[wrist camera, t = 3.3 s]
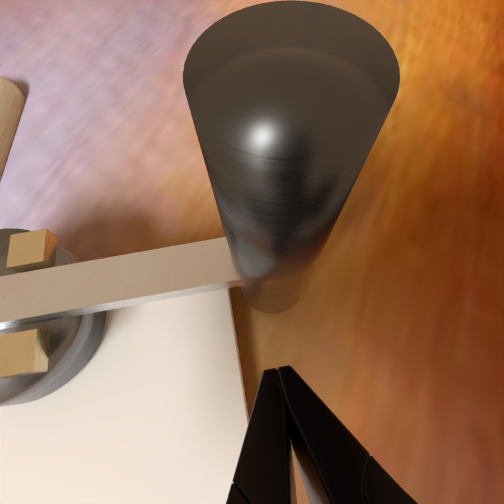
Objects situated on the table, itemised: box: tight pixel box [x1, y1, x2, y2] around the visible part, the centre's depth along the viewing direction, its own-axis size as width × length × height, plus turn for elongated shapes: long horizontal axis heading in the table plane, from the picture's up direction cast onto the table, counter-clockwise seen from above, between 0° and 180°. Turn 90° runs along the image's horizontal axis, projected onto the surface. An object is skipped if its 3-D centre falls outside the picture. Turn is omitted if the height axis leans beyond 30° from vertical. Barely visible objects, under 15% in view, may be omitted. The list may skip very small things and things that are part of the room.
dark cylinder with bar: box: [0, 1, 400, 407], centre depth 11 cm, size 8×19×13 cm, turn 100°
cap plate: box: [0, 288, 249, 504], centre depth 15 cm, size 15×15×2 cm
